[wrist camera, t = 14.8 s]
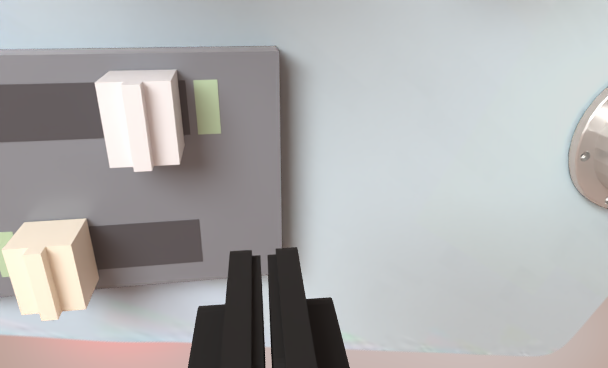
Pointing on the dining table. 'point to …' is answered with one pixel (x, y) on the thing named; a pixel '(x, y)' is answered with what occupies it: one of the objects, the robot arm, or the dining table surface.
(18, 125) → the switch panel
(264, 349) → the robot arm
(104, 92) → the ridged white block
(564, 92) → the dining table surface
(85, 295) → the cream tab
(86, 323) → the dining table surface
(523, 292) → the dining table surface
